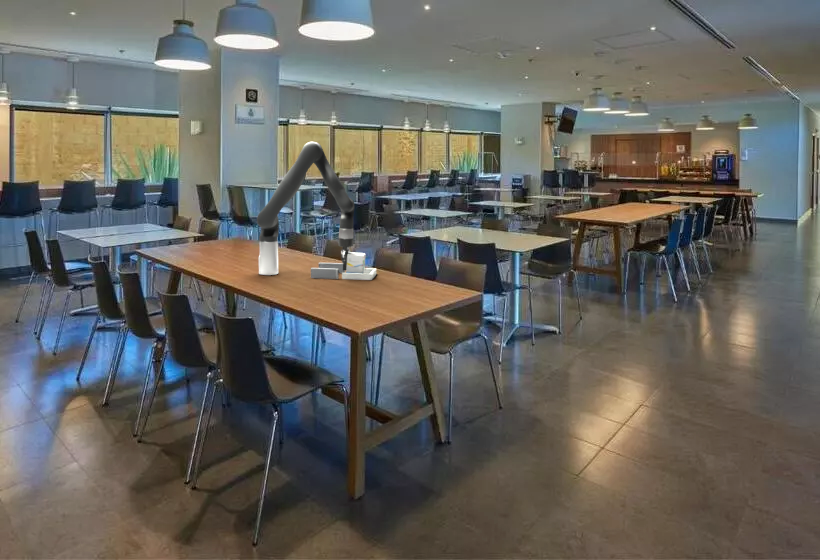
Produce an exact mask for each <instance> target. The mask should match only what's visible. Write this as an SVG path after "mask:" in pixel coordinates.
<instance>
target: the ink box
mask: <svg viewBox="0 0 820 560" xmlns="http://www.w3.org/2000/svg"><path fill="white" fill-rule="evenodd" d="M365 266H366V253H365V252H364V253H363V252H351V251H350V253H349V254H348V255H347V268H346V270H345V273H364V270H365Z"/></svg>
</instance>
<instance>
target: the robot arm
mask: <svg viewBox="0 0 820 560" xmlns="http://www.w3.org/2000/svg"><path fill="white" fill-rule="evenodd" d="M312 165H315V167H316V168H317V169H318V171H319V173H320V174H321V176H322V179H323V181H324V184H325V186H326V187H327V189H328V190H329V191H330V193H331V195H332V196H333V198H334V199H335V202H336V204H337V206H338V207H339V209H340V219H339V228H338V229H339V230H338V231H339V232H338V246H339V247H342V248H341V250H340V259H341V263H343V270H345V271H346V268H347V255H348V254H349V253H350V252H351V249H350V248H352V247H354V216H355V215H354V214H355V201H354V200H353V199H352V198H350V197H349V195H348V194H347V192H346V188H345V187H344V185H343V183H342V182H341V180H340V179H339V177H338V176H337V174H336V173H335V171H334V169H333V168H332V166H331V164H330V162H329V160H328V159H327V156H326V155H325V151H324V148H323V147H322V145H321V144H320V142H319V143H318V142H317V141H309V142H307V143H305V144H304V145H303V147H302V149H301V151H300V152H299V154H298V156H297V159H296V160H295V162H294V164H292V166H291V167H290V169H289V170H288V171H287V173H286V174H285V175H284V176H283V178H282V180H281V181H280V182H279V183H278V186H277V187H276V189H275V191H274V192H273V194H272V196H271V198H270V200H269V201H268V202H267V203H266V205H265V206H264V207H263V208H262V209H261V211H259V213H258V215H257V217H256V223H257V225H258V226H259V228H260V234H259V237H258V238H259V243H258V244H259V255H258V275H262V276H263V275H264V276H271V275H272V276H274V275H277V274H279V242H278V238H279V230H280V229H279V228H280V227H279V223H280V222H279V214H280V212H281V211H282V210H283V208H284V207H285V206H286V205H287V204H288V203H289V202H290V201H291V200H292V199H293V198H294V196H295V195H296V194H297V192H298V191H299V189H300V188H301V186H302V184H303V182H304V179H305V177H306V175H307V172H308V171H309V170H310V168H311V167H312Z"/></svg>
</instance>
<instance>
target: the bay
mask: <svg viewBox="0 0 820 560" xmlns="http://www.w3.org/2000/svg"><path fill="white" fill-rule="evenodd" d="M342 273H346V270H343V263H342V262H339V263H338V262H318V267H311V268H310V278H311V279H325V280H327V279H328V280H329V279H330V280H338V279H339V276H340V275H339V274H342Z"/></svg>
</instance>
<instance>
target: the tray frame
mask: <svg viewBox="0 0 820 560" xmlns="http://www.w3.org/2000/svg"><path fill="white" fill-rule="evenodd" d="M376 275H377V268H371V267H370V268H368V267H366V268H365V270H364V273H346V272H345V273H341V280H358V281H359V280H361V281H372V280H373V279H374V278H375V277H376Z"/></svg>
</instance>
